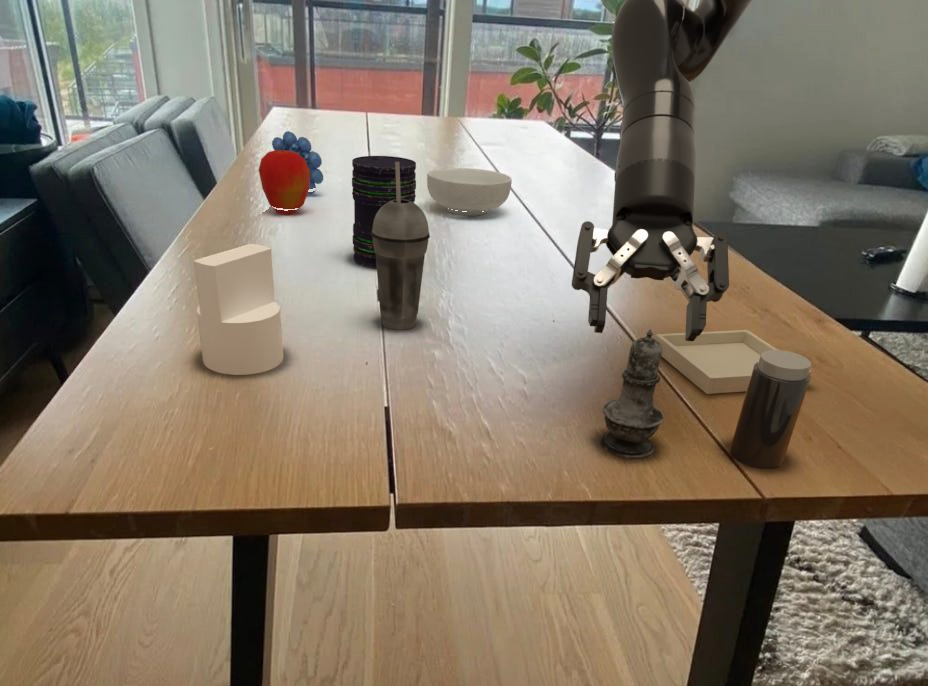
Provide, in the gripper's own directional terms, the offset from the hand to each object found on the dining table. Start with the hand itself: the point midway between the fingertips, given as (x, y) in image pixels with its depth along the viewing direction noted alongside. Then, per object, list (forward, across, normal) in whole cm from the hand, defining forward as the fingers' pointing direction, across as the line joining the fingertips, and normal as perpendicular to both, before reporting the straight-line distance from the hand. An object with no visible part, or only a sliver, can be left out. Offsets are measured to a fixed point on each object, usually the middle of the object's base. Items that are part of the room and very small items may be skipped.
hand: (645, 333), depth 71 cm
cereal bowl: (-56, -23, +72) cm, 95 cm away
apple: (-48, -57, +64) cm, 98 cm away
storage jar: (-30, -34, +45) cm, 64 cm away
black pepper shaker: (+9, +13, +7) cm, 17 cm away
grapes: (-58, -59, +74) cm, 112 cm away
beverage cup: (-10, -27, +26) cm, 39 cm away
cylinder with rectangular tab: (+1, -43, +15) cm, 45 cm away
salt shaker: (+9, 0, +7) cm, 11 cm away
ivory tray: (-7, +14, +22) cm, 27 cm away
